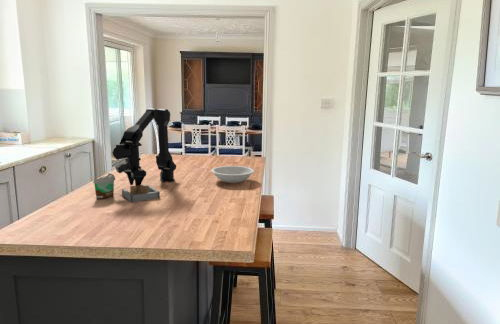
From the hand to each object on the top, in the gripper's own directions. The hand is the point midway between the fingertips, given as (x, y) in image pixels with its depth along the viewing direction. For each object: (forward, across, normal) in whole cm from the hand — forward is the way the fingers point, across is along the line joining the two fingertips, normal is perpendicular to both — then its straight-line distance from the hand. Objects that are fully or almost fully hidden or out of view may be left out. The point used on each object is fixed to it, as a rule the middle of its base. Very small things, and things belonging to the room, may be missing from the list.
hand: (134, 187), depth 181 cm
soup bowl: (+3, +8, +53) cm, 53 cm away
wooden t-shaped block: (+2, +11, 0) cm, 11 cm away
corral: (+2, +9, 0) cm, 10 cm away
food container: (+3, +2, -13) cm, 14 cm away
